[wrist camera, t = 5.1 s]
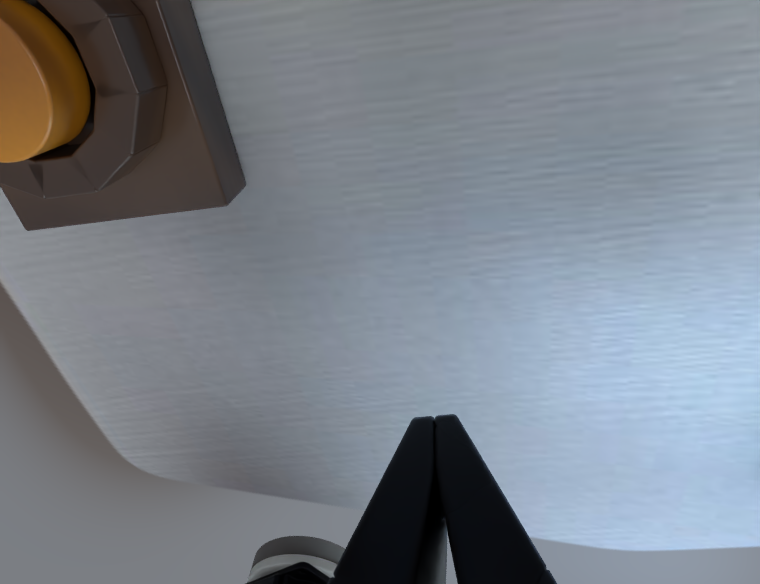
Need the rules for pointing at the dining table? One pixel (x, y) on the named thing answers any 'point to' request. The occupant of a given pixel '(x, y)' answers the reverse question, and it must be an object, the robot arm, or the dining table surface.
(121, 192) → the walnut button block
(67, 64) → the amber button
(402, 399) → the dining table surface
